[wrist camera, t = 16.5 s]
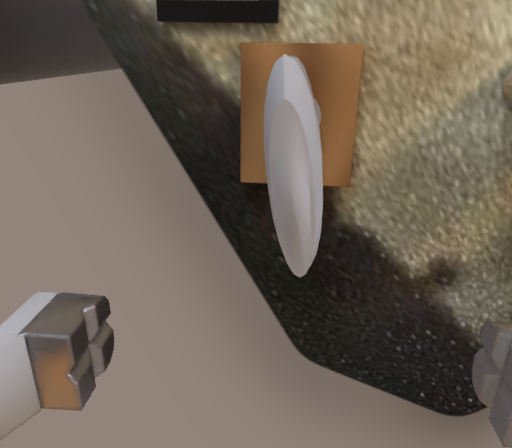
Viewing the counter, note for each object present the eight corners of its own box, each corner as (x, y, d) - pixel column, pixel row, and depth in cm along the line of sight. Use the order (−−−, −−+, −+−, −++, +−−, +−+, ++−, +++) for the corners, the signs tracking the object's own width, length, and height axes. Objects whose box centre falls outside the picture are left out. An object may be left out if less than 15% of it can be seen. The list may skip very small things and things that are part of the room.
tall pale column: (266, 53, 36) (222, 64, 15) (316, 47, 35) (338, 49, 15) (279, 177, 40) (256, 315, 19) (324, 173, 39) (350, 311, 19)
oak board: (242, 177, 41) (240, 182, 40) (243, 42, 37) (240, 42, 35) (347, 182, 41) (349, 186, 39) (361, 44, 36) (364, 44, 35)
